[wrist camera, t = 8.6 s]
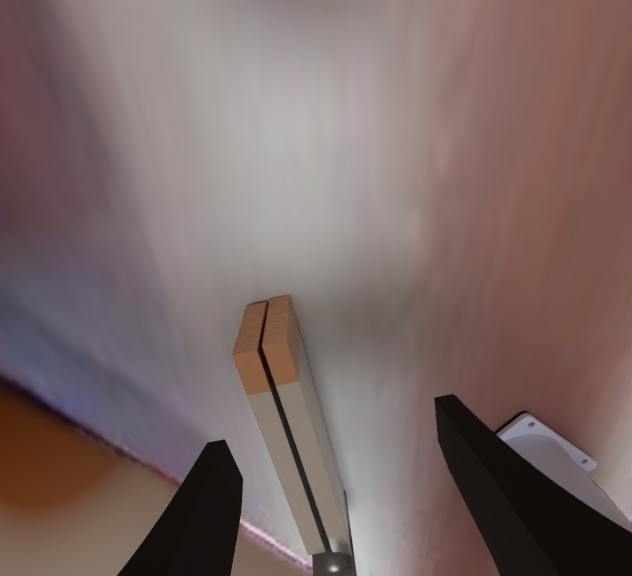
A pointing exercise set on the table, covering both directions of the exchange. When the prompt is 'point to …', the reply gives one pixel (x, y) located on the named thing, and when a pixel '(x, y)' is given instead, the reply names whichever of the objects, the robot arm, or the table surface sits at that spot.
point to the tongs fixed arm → (309, 436)
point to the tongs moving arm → (276, 426)
